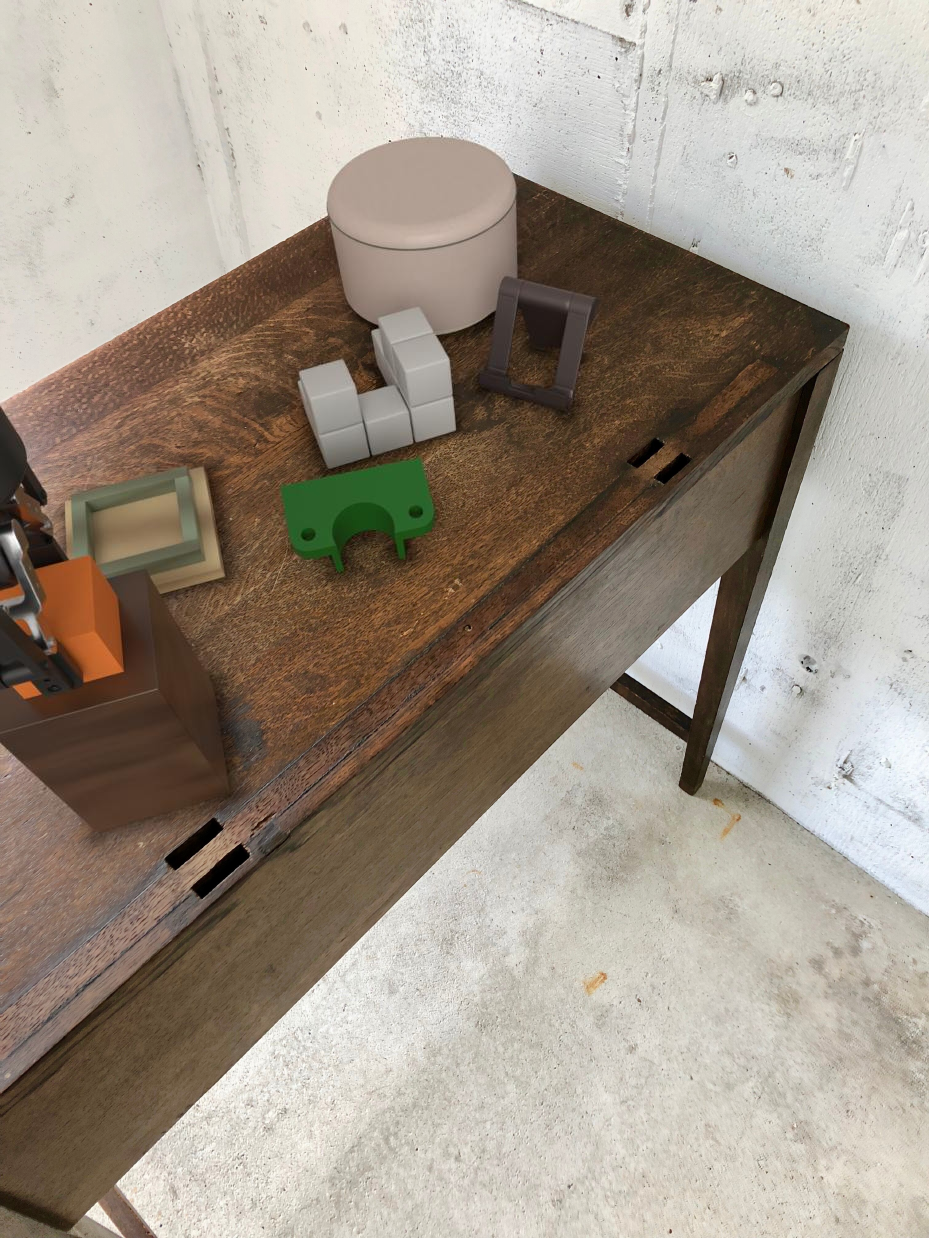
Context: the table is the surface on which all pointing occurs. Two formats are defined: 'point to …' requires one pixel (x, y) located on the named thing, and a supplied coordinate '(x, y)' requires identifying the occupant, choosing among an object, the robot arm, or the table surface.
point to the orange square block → (78, 618)
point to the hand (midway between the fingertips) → (63, 634)
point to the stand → (126, 724)
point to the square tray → (149, 528)
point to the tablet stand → (539, 338)
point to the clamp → (358, 508)
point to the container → (425, 230)
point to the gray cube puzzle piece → (382, 394)
